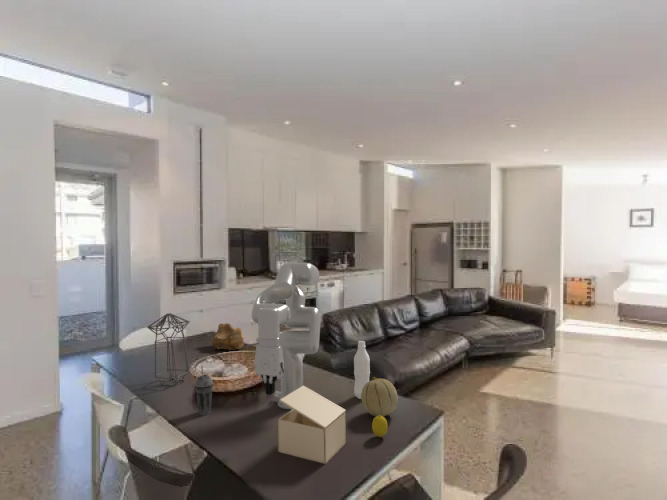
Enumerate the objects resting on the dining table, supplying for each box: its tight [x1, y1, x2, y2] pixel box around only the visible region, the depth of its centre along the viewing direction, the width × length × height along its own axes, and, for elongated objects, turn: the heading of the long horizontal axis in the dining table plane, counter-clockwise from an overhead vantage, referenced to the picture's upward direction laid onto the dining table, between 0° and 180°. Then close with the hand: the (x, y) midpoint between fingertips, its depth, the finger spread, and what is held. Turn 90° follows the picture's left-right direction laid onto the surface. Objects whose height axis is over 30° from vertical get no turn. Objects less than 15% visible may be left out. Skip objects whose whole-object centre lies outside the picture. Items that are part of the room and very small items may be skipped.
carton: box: [276, 409, 347, 465], centre depth 150 cm, size 18×15×11 cm
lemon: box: [371, 415, 389, 438], centre depth 157 cm, size 6×6×8 cm
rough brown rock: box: [211, 322, 245, 351], centre depth 284 cm, size 23×17×15 cm
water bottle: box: [353, 340, 371, 400], centre depth 196 cm, size 7×7×25 cm
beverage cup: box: [194, 365, 214, 416], centre depth 181 cm, size 7×7×20 cm
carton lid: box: [280, 384, 346, 429], centre depth 149 cm, size 18×15×1 cm
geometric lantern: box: [147, 312, 191, 385], centre depth 219 cm, size 16×16×35 cm
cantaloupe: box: [361, 376, 399, 417], centre depth 176 cm, size 15×15×15 cm
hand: (270, 393), depth 157 cm, fingers closed
